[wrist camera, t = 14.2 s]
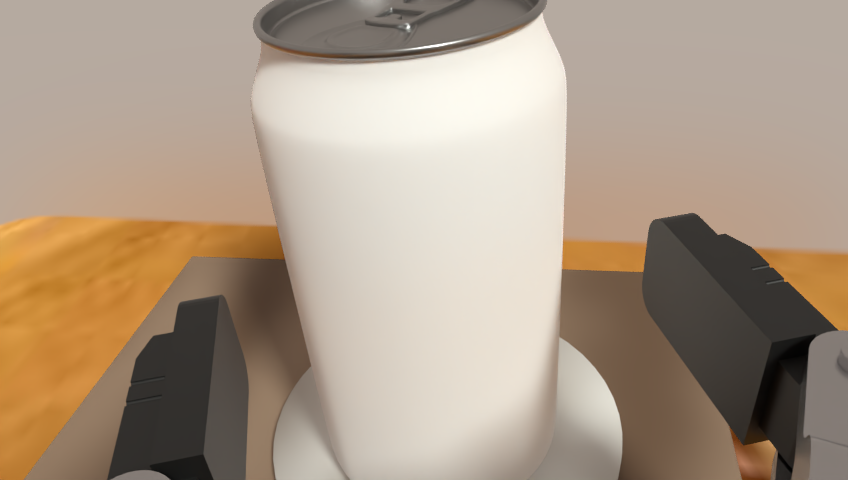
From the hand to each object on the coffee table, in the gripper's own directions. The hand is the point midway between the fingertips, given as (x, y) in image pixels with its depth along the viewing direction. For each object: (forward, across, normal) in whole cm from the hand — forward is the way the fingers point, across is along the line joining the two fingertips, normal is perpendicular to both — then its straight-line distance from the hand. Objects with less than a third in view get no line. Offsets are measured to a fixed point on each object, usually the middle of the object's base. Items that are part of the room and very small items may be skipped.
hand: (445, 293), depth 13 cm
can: (+3, 0, +8) cm, 8 cm away
